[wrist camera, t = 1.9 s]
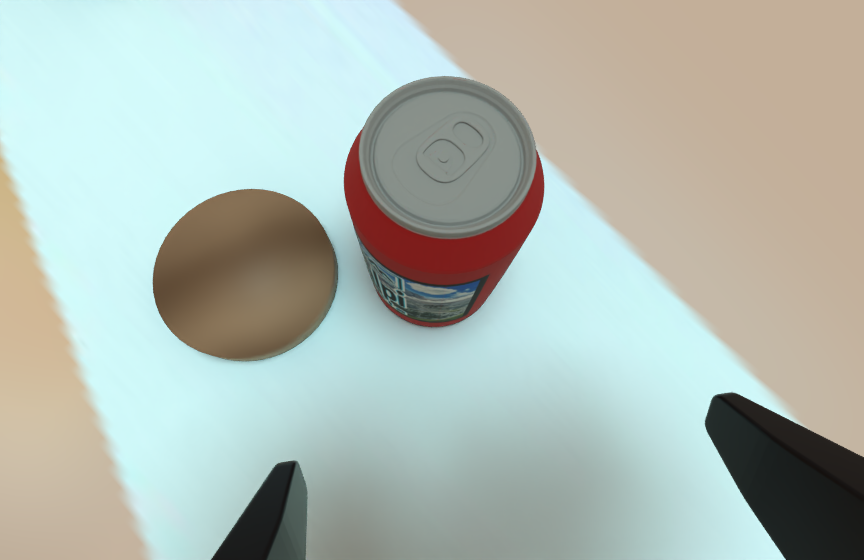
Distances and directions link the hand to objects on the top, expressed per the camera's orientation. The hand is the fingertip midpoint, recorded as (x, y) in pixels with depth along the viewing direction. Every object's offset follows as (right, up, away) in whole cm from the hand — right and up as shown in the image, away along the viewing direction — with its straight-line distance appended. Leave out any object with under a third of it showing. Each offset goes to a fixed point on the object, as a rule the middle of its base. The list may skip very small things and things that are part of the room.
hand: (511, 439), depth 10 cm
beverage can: (-2, +4, +16) cm, 16 cm away
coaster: (-11, +4, +15) cm, 19 cm away
